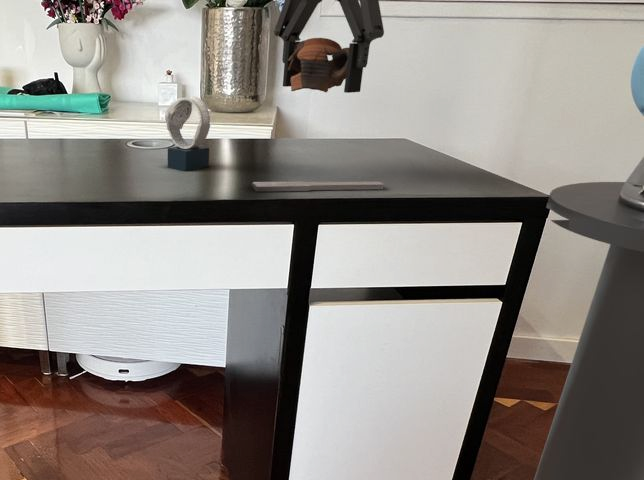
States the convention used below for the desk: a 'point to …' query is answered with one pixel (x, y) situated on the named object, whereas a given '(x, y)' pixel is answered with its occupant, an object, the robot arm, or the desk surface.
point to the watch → (184, 154)
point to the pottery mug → (318, 64)
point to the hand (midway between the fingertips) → (319, 89)
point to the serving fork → (315, 186)
